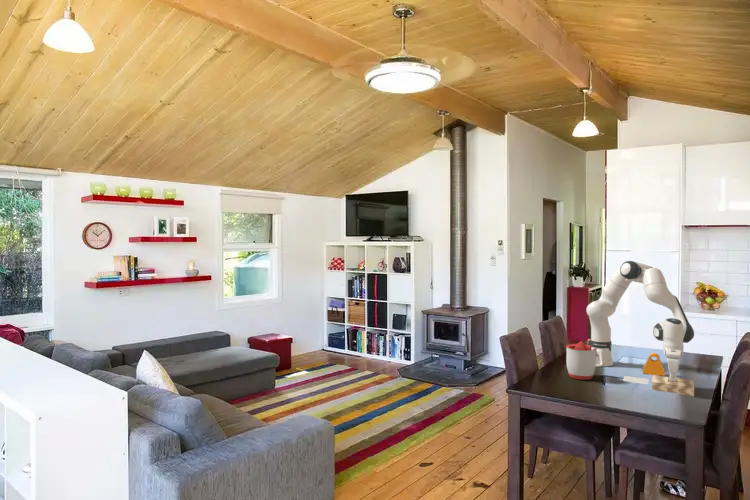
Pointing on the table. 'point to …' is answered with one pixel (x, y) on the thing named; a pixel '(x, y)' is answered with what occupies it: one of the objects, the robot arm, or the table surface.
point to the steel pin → (670, 378)
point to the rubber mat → (636, 380)
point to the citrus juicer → (581, 361)
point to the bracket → (654, 366)
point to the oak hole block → (673, 385)
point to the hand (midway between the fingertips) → (672, 378)
